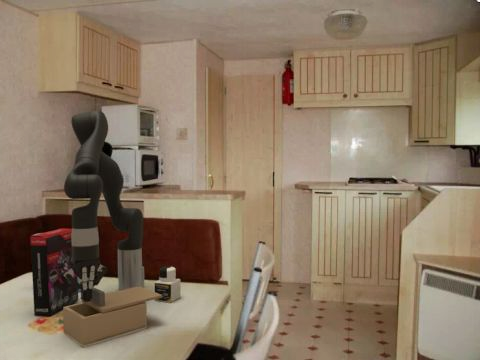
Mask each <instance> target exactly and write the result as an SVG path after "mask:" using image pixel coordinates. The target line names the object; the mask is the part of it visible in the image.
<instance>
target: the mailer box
mask: <svg viewBox="0 0 480 360" xmlns="http://www.w3.org/2000/svg"><path fill="white" fill-rule="evenodd" d="M147 307H148V306H147V302H143V303H139V304H135V305H131V306H127V307H123V308H119V309H115V310H112V311H108V312H104V313H102V312H100V311H98V310H96V309H94V308H93V307H91V306H89V305H87V304H85V303H83V302H79V303H76V304H74V303H73V304H71V305H69V306H66V307H63V309H62V311H63V317H62V318H63V334H64V335H65V336H66V337H68V338H70V339H71V340H73V341H74V342H75V343H76V344H77V345H80V346H81V347H82V348H86V347H90V346H93V345H95V344H96V345H97V344H99V343H103V342H106V341H109V340H113V339H116V338H119V337H123V336H126V335H130V334H132V333H136V332H140V331H142V330H146V329H147V328H148V316H147V313H148V312H147V309H148V308H147Z"/></svg>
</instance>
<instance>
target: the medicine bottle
mask: <svg viewBox="0 0 480 360" xmlns="http://www.w3.org/2000/svg"><path fill="white" fill-rule="evenodd" d="M176 269H177V268H175V267H174V266H170V265H169V266H162V267H160V268H159V270H158V274H159V275H158V276H159V278H158V280H156V281H154V292H156V293H158V294H161V295H162V298H159V299H155V300H154V301H156V302H160V303H161V302H163V303H169V304H171V303H174V302H175V301H176V300H179V299H180V298H181V297H182V296H181V292H182V291H181V279H180V278H176V276H177V275H176Z"/></svg>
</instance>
